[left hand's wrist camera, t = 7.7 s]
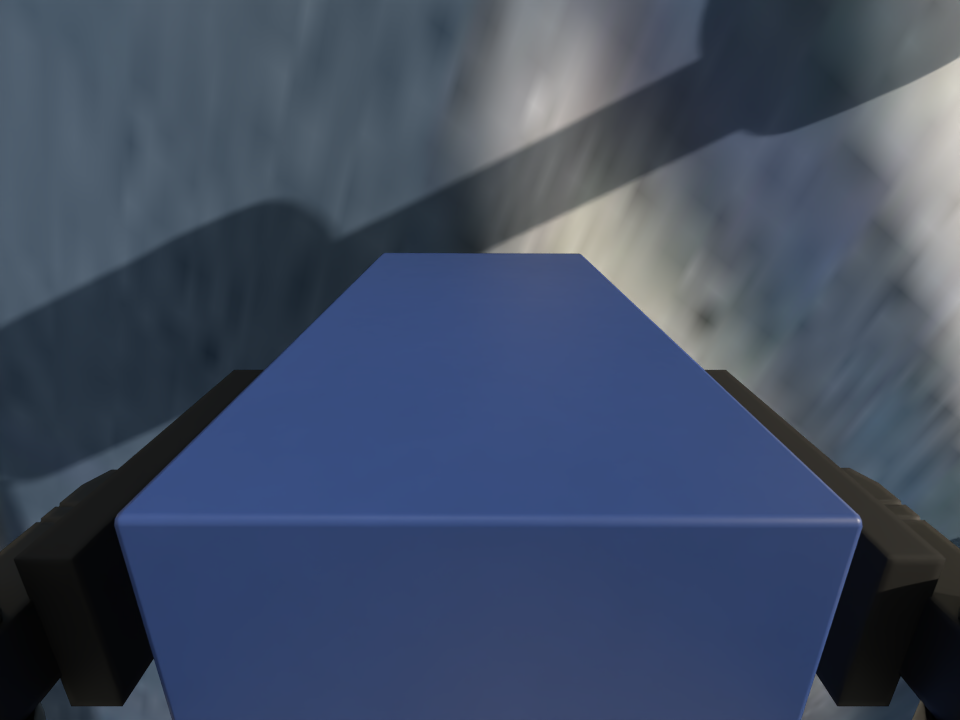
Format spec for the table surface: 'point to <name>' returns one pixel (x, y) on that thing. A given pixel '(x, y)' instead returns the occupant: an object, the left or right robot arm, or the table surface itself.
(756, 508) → the box
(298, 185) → the table surface
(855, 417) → the table surface
